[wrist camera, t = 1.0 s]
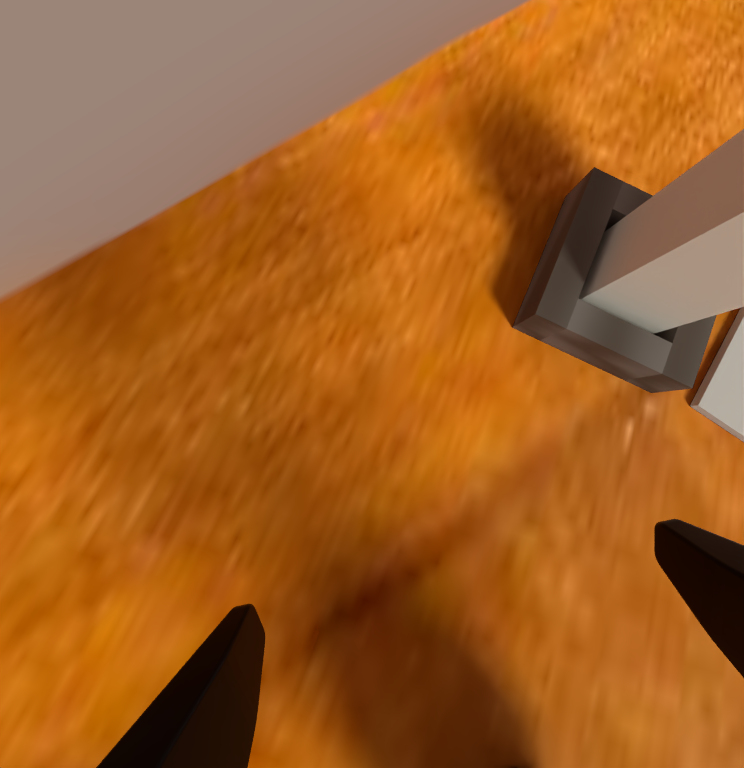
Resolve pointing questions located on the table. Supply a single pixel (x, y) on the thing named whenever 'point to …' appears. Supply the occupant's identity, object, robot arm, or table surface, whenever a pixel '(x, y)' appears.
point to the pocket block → (593, 325)
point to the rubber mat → (725, 383)
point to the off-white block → (677, 249)
